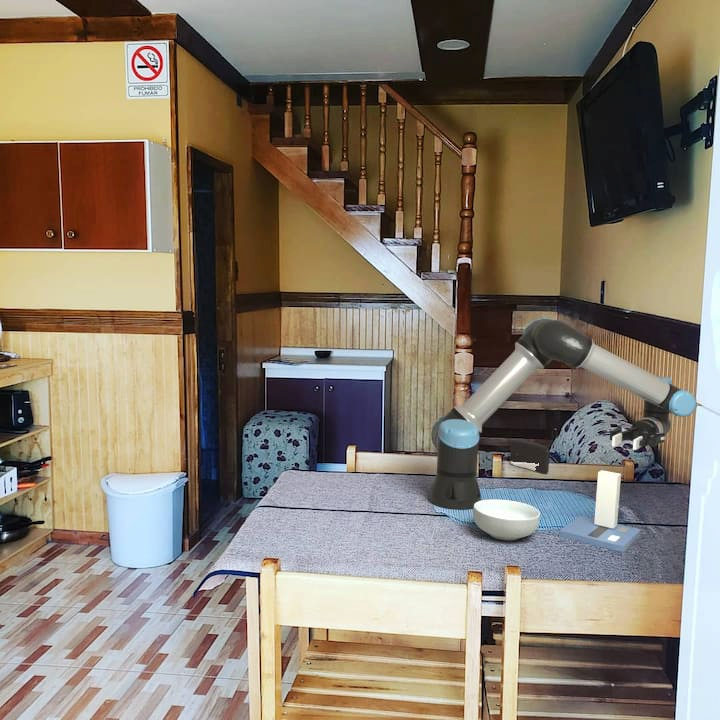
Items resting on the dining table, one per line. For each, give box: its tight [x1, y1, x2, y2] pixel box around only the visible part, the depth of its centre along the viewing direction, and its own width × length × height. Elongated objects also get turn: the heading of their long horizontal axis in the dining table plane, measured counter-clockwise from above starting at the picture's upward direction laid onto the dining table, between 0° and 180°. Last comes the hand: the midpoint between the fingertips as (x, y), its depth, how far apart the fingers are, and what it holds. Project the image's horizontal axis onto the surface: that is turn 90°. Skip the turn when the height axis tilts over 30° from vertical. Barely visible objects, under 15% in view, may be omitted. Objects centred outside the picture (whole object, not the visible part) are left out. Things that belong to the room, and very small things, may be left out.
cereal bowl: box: [472, 498, 541, 541], centre depth 174 cm, size 17×17×7 cm
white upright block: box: [594, 469, 622, 529], centre depth 179 cm, size 3×5×14 cm, turn 53°
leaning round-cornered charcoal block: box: [509, 439, 551, 475], centre depth 242 cm, size 16×5×9 cm, turn 39°
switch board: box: [558, 515, 642, 553], centre depth 177 cm, size 16×16×2 cm
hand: (624, 443), depth 187 cm, fingers open, 5 cm apart
